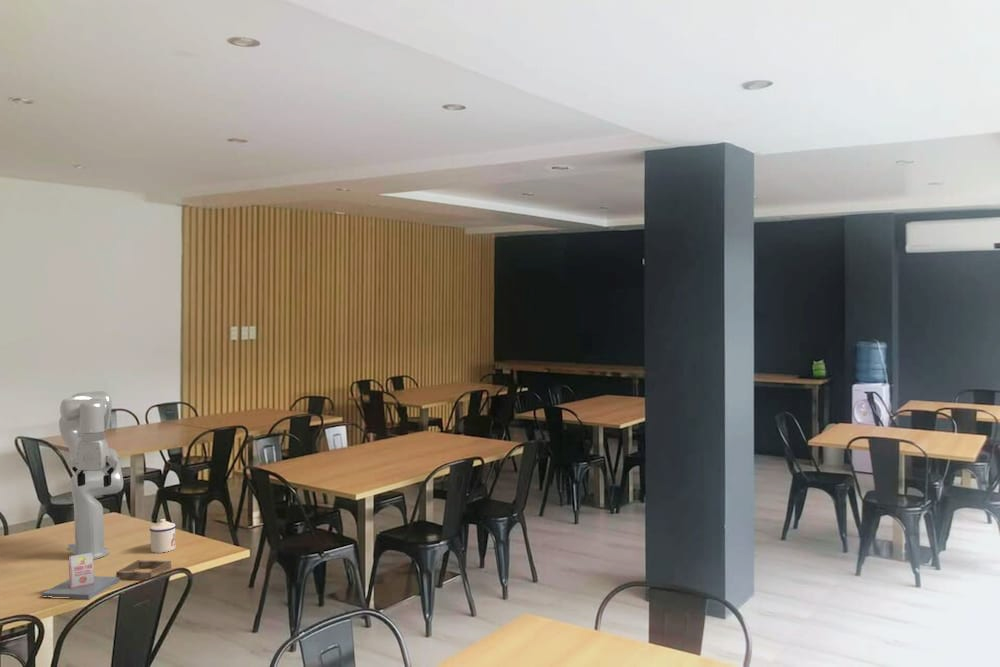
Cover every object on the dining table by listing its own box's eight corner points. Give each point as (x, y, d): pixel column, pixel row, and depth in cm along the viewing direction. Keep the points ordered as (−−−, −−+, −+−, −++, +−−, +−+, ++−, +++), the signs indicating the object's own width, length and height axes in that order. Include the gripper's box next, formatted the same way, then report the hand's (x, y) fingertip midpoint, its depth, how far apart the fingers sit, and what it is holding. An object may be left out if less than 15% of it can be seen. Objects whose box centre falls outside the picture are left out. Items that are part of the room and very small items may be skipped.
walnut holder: (116, 579, 266) (116, 572, 265) (138, 567, 278) (137, 560, 278) (151, 580, 264) (150, 573, 264) (171, 567, 276) (171, 560, 276)
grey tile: (42, 597, 250) (42, 593, 250) (75, 580, 266) (75, 575, 265) (88, 599, 248) (88, 594, 248) (119, 581, 264) (119, 577, 263)
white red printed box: (69, 585, 256) (68, 555, 256) (92, 581, 260) (91, 551, 260) (70, 588, 253) (69, 558, 253) (94, 584, 257) (93, 554, 257)
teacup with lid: (177, 551, 296) (176, 520, 295) (151, 555, 291) (150, 523, 291) (174, 542, 306) (173, 513, 306) (149, 546, 302) (148, 516, 302)
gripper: (62, 438, 270) (64, 488, 270) (109, 439, 267) (110, 488, 268) (76, 434, 277) (78, 482, 278) (122, 435, 275) (124, 483, 276)
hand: (94, 485), depth 273 cm, fingers open, 9 cm apart
